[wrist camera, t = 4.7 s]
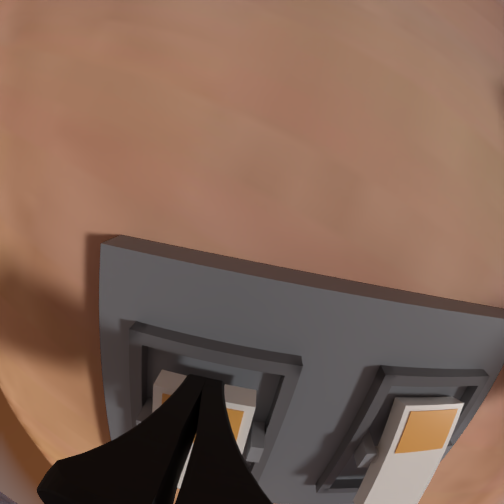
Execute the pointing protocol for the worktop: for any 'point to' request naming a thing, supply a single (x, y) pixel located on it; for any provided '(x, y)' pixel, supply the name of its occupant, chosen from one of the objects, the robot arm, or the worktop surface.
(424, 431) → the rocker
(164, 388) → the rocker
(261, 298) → the breaker panel
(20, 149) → the worktop surface
